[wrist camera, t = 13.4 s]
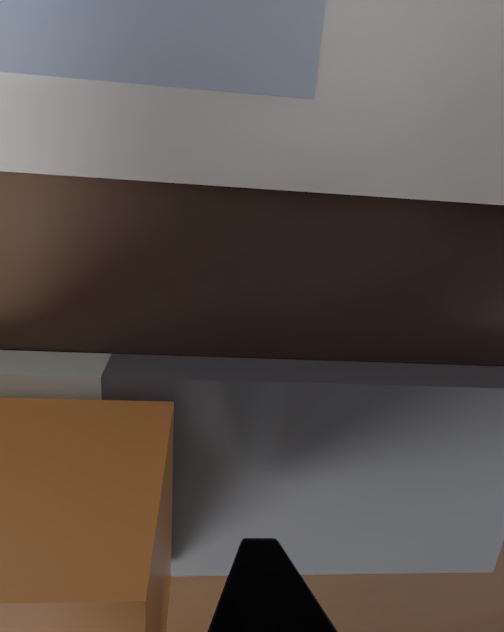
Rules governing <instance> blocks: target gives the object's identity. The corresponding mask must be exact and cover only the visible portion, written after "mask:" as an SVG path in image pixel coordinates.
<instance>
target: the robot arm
mask: <svg viewBox="0 0 504 632" xmlns="http://www.w3.org/2000/svg"><path fill="white" fill-rule="evenodd" d="M208 632H337V630H336V629H335V627H334V626H333V624H332V623H331V621H330V619H329V618H328V616H327V615H326V613H325V612H324V610H323V609H322V607H321V606H320V604H319V603H318V601H317V600H316V598H315V596H314V595H313V593H312V592H311V590H310V589H309V587H308V586H307V584H306V583H305V581H304V580H303V578H302V576H301V575H300V573H299V572H298V570H297V569H296V567H295V566H294V564H293V563H292V561H291V560H290V558H289V557H288V555H287V553H286V552H285V550H284V549H283V547H282V546H281V544H280V543H279V541H278V540H277V539H275V538H244V539H242V541H241V543H240V545H239V548H238V551H237V553H236V556H235V559H234V562H233V564H232V567H231V570H230V572H229V575H228V578H227V581H226V583H225V586H224V589H223V591H222V594H221V597H220V600H219V602H218V605H217V608H216V610H215V613H214V616H213V619H212V621H211V624H210V627H209V629H208Z"/></svg>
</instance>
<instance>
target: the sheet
mask: <svg viewBox="0 0 504 632" xmlns="http://www.w3.org/2000/svg"><path fill="white" fill-rule="evenodd" d="M0 171H4V172H19V173H34V174H49V175H63V176H78V177H93V178H108V179H122V180H137V181H152V182H167V183H182V184H196V185H211V186H226V187H241V188H256V189H270V190H285V191H300V192H315V193H329V194H344V195H359V196H374V197H389V198H403V199H418V200H433V201H448V202H462V203H477V204H492V205H504V0H0Z"/></svg>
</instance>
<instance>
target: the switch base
mask: <svg viewBox="0 0 504 632" xmlns="http://www.w3.org/2000/svg"><path fill="white" fill-rule="evenodd" d="M0 398H41V399H84V400H127V401H170V402H174V430H173V486H172V543H171V576H228V575H229V572H230V570H231V567H232V564H233V562H234V559H235V556H236V553H237V551H238V548H239V545H240V543H241V541H242V539H244V538H275V539H277V540H278V541H279V543H280V544H281V546H282V547H283V549H284V550H285V552H286V553H287V555H288V557H289V558H290V560H291V561H292V563H293V564H294V566H295V567H296V569H297V570H298V572H299V573H300V575H312V574H394V573H475V572H493V571H494V568H495V565H496V562H497V559H498V556H499V553H500V550H501V547H502V544H503V541H504V366H475V365H444V364H413V363H382V362H352V361H321V360H290V359H260V358H229V357H198V356H167V355H137V354H106V353H75V352H45V351H14V350H0Z"/></svg>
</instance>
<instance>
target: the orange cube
mask: <svg viewBox="0 0 504 632" xmlns="http://www.w3.org/2000/svg"><path fill="white" fill-rule="evenodd" d="M173 430H174V402H170V401H127V400H84V399H41V398H0V632H166V625H167V614H168V603H169V593H170V582H171V543H172V486H173Z"/></svg>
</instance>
